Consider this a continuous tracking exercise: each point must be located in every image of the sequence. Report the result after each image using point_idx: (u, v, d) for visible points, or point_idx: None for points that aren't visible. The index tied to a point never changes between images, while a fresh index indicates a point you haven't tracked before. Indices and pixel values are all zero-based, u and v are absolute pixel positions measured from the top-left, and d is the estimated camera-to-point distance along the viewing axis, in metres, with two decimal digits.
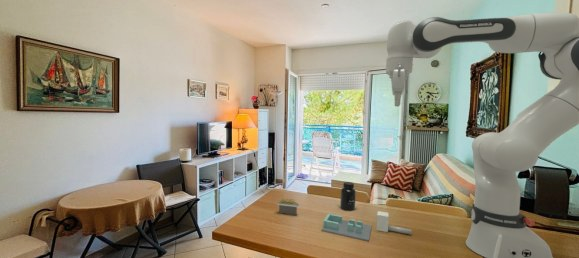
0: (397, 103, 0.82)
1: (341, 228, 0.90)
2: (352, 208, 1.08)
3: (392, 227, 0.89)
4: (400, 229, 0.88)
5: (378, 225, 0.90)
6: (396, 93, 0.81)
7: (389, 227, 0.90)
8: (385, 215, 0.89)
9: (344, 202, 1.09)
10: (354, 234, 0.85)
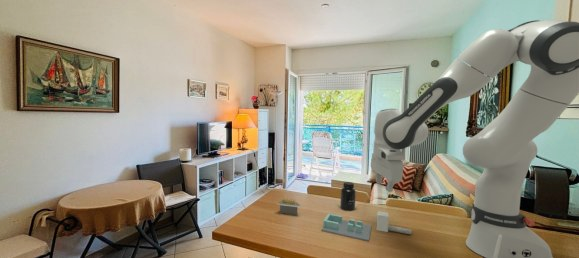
0: None
1: (341, 228, 0.90)
2: (352, 208, 1.08)
3: (392, 227, 0.89)
4: (400, 229, 0.88)
5: (378, 225, 0.90)
6: None
7: (389, 227, 0.90)
8: (385, 215, 0.89)
9: (344, 202, 1.09)
10: (354, 234, 0.85)
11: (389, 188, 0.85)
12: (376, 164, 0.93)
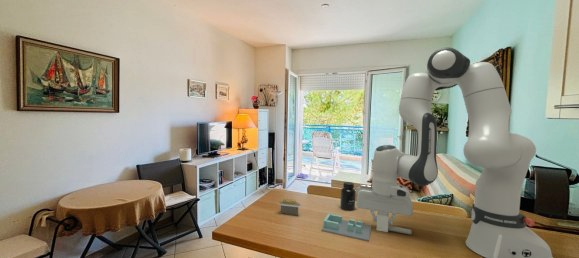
0: (373, 219, 0.92)
1: (341, 228, 0.90)
2: (352, 208, 1.08)
3: (392, 227, 0.89)
4: (400, 229, 0.88)
5: (378, 225, 0.90)
6: None
7: (389, 227, 0.89)
8: (385, 215, 0.89)
9: (344, 202, 1.09)
10: (354, 234, 0.85)
11: None
12: (373, 202, 0.90)
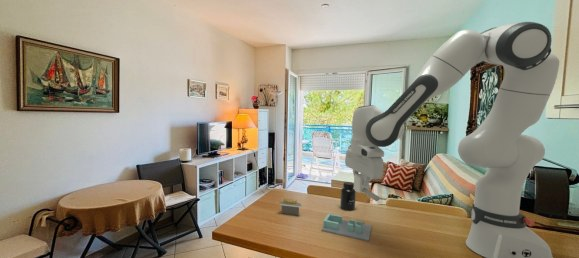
0: None
1: (341, 228, 0.90)
2: (352, 208, 1.08)
3: (365, 190, 0.87)
4: (369, 193, 0.84)
5: (354, 184, 0.91)
6: None
7: (363, 189, 0.88)
8: (360, 176, 0.89)
9: (344, 202, 1.09)
10: (354, 234, 0.85)
11: (365, 183, 0.87)
12: (352, 161, 0.93)
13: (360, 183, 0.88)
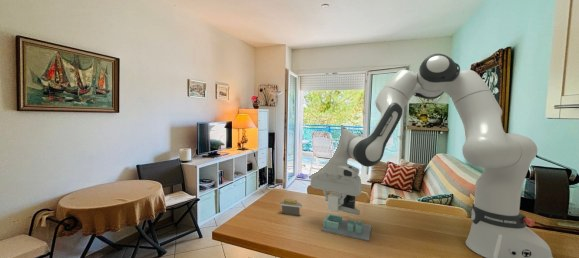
0: None
1: (341, 228, 0.90)
2: (352, 208, 1.08)
3: (342, 207, 0.91)
4: (349, 209, 0.89)
5: (329, 205, 0.92)
6: None
7: (339, 207, 0.91)
8: (335, 195, 0.91)
9: (344, 202, 1.09)
10: (354, 234, 0.85)
11: (342, 201, 0.91)
12: (324, 182, 0.93)
13: (337, 202, 0.91)
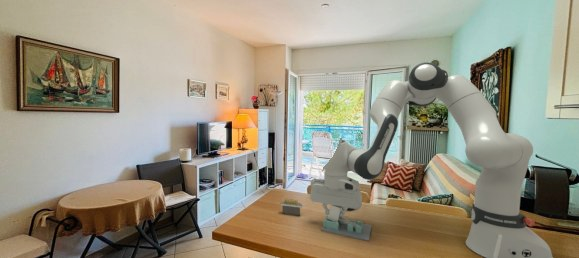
0: None
1: (341, 228, 0.90)
2: None
3: (342, 219, 0.91)
4: None
5: (330, 215, 0.92)
6: None
7: (340, 219, 0.91)
8: (338, 207, 0.91)
9: None
10: (354, 234, 0.85)
11: (344, 214, 0.91)
12: (324, 195, 0.92)
13: (339, 214, 0.91)
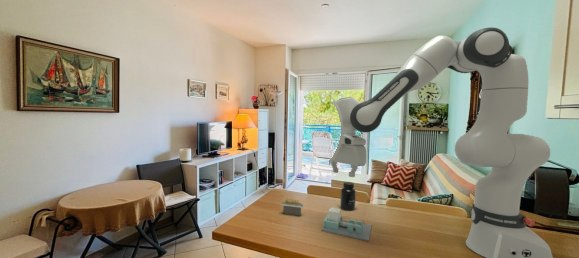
0: None
1: (341, 228, 0.90)
2: (352, 208, 1.08)
3: (343, 223, 0.91)
4: None
5: None
6: None
7: (340, 223, 0.91)
8: (336, 211, 0.91)
9: (344, 202, 1.09)
10: (354, 234, 0.85)
11: (352, 174, 0.86)
12: None
13: (338, 218, 0.90)
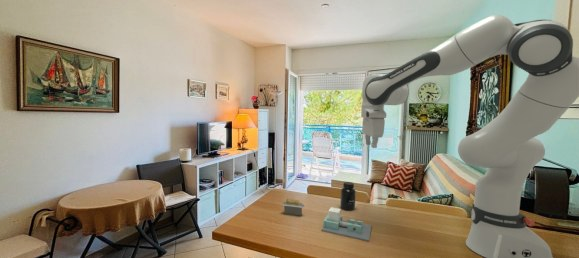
0: None
1: (341, 228, 0.90)
2: (352, 208, 1.08)
3: (343, 223, 0.91)
4: None
5: None
6: None
7: (340, 223, 0.91)
8: (336, 211, 0.91)
9: (344, 202, 1.09)
10: (354, 234, 0.85)
11: (373, 145, 0.94)
12: (365, 127, 1.02)
13: (338, 218, 0.90)
